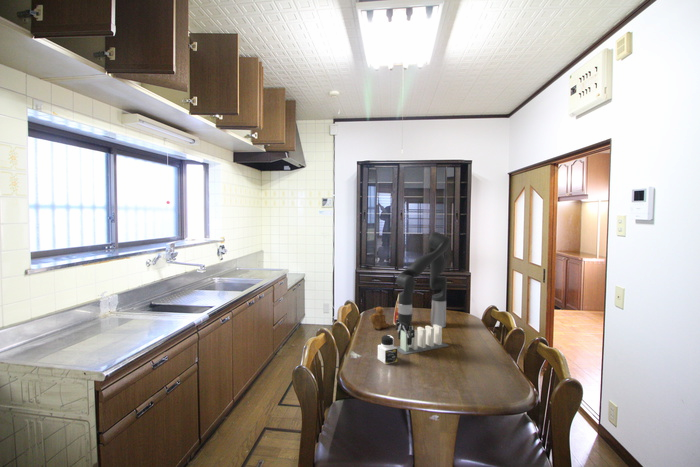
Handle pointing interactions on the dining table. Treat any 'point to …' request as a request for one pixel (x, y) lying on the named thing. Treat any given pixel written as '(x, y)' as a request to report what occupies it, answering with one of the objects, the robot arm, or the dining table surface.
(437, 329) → the domino
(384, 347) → the medicine bottle
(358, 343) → the dining table surface
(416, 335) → the domino
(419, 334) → the domino
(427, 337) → the domino
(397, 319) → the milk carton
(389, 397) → the dining table surface
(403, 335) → the domino
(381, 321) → the stuffed squirrel
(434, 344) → the runner mat
